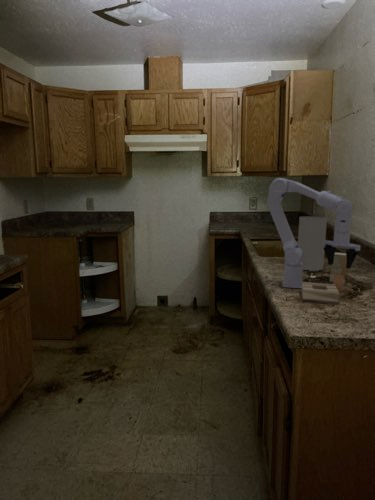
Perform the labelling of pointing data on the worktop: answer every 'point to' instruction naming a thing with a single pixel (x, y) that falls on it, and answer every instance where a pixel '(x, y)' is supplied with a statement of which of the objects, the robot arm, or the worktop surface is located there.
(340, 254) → the skincare box
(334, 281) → the peg
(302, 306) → the worktop surface
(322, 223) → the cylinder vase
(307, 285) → the socket block
